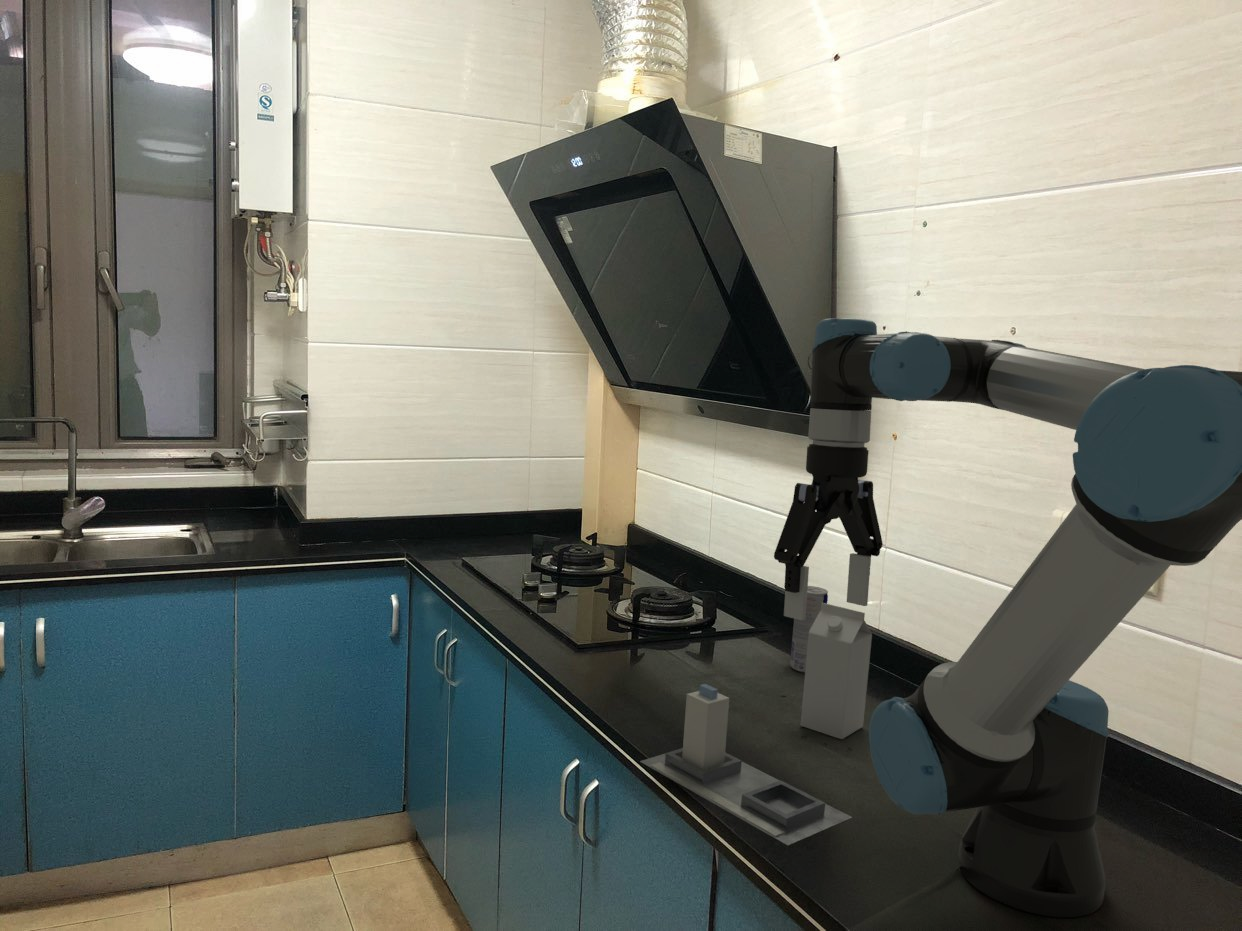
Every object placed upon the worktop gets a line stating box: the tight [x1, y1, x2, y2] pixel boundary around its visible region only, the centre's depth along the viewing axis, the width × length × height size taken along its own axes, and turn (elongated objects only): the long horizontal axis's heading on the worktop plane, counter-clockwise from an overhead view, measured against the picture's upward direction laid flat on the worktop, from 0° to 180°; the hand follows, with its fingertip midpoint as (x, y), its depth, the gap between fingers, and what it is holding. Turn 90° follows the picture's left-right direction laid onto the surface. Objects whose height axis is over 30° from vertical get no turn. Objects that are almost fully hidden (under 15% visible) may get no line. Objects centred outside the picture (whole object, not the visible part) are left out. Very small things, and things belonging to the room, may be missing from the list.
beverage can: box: [789, 585, 829, 674], centre depth 174 cm, size 6×6×15 cm
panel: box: [639, 747, 853, 846], centre depth 124 cm, size 26×12×2 cm, turn 40°
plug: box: [682, 683, 730, 770], centre depth 129 cm, size 4×4×11 cm
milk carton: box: [800, 603, 873, 740], centre depth 148 cm, size 7×7×19 cm
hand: (826, 610), depth 122 cm, fingers open, 13 cm apart
